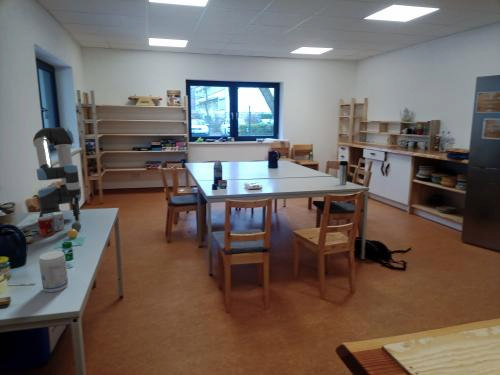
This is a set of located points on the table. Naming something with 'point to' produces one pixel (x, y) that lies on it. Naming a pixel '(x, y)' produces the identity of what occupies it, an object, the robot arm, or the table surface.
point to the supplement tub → (53, 271)
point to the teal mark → (76, 240)
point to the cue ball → (76, 226)
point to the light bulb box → (57, 220)
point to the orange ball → (72, 233)
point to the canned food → (46, 226)
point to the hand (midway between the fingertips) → (78, 224)
